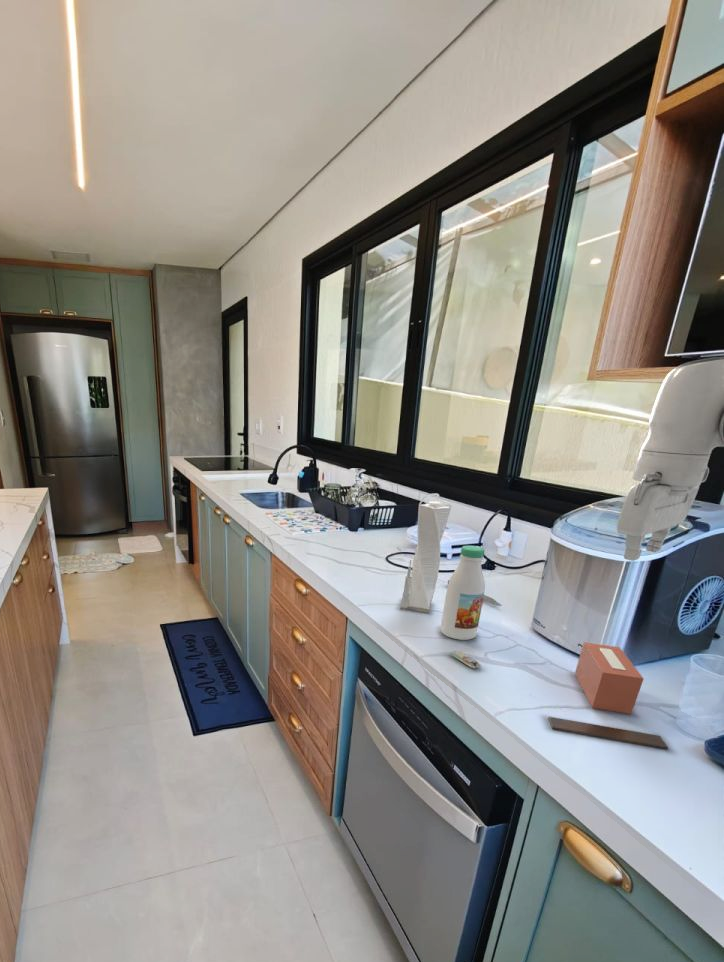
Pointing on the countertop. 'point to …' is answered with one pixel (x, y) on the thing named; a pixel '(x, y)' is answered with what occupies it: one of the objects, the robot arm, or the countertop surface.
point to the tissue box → (608, 678)
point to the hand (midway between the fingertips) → (642, 555)
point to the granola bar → (465, 659)
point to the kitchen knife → (489, 600)
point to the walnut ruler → (607, 732)
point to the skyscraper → (425, 556)
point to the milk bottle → (464, 596)
